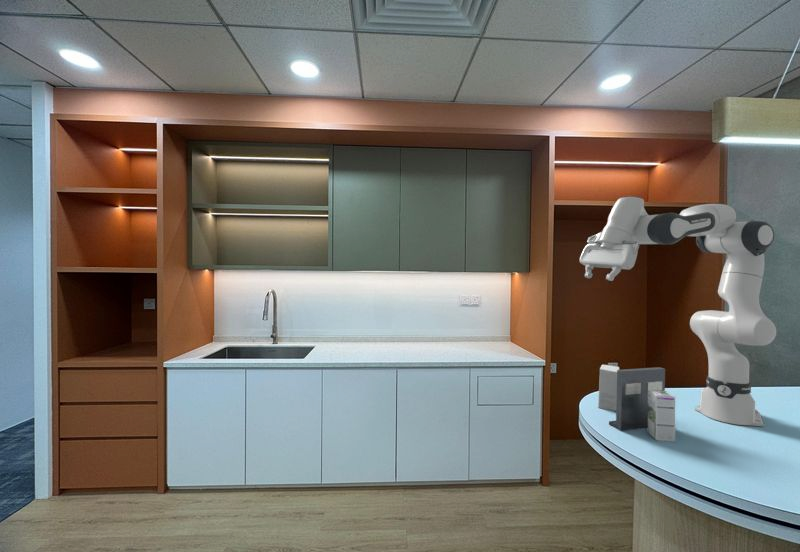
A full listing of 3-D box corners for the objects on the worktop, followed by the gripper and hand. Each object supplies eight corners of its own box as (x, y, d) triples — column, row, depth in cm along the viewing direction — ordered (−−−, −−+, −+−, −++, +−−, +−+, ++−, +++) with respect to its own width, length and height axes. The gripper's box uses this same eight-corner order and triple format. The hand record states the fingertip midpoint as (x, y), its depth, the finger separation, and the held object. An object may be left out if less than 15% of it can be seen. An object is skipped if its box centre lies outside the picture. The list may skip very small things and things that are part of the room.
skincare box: (600, 401, 147) (601, 363, 147) (619, 405, 143) (620, 366, 143) (597, 408, 140) (598, 368, 140) (617, 412, 136) (618, 371, 136)
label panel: (650, 420, 129) (651, 364, 128) (664, 426, 124) (666, 368, 123) (608, 424, 125) (610, 367, 124) (621, 431, 119) (622, 371, 119)
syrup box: (675, 442, 112) (676, 396, 112) (654, 440, 113) (655, 394, 113) (666, 434, 118) (667, 390, 118) (646, 432, 119) (647, 389, 119)
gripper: (648, 245, 111) (631, 285, 111) (597, 245, 131) (583, 279, 131) (633, 236, 110) (616, 277, 110) (584, 237, 130) (569, 272, 130)
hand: (597, 278), depth 121 cm, fingers open, 8 cm apart
